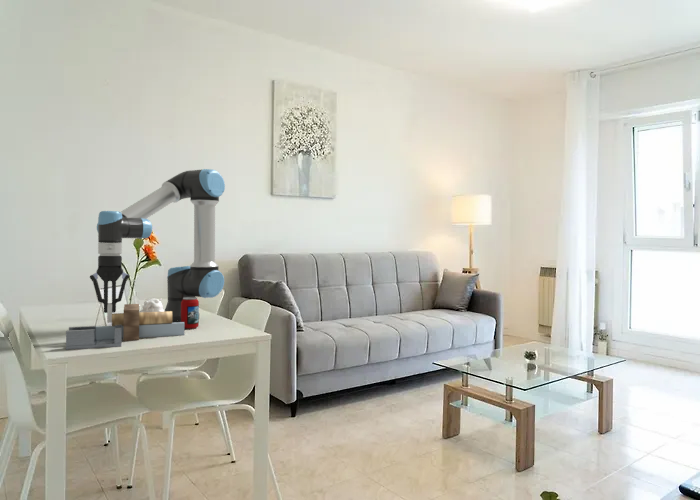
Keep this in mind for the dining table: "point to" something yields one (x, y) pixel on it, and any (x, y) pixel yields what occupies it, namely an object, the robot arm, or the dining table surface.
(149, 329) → the rail
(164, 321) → the dowel
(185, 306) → the beverage can
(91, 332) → the cradle
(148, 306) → the figurine
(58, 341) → the dining table surface
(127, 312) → the brown wooden block
